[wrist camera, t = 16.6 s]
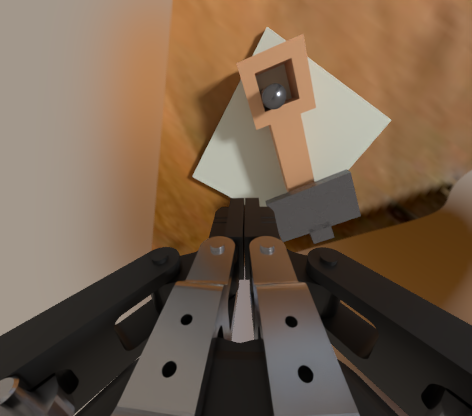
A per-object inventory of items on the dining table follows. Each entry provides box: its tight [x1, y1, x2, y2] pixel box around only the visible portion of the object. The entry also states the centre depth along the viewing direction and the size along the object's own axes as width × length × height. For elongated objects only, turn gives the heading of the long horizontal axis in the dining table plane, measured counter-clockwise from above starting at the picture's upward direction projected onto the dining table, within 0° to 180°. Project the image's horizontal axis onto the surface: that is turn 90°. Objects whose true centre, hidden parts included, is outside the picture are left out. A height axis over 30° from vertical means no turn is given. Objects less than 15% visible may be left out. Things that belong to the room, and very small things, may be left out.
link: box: [236, 34, 316, 192], centre depth 23 cm, size 15×6×4 cm, turn 20°
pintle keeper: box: [260, 83, 361, 244], centre depth 25 cm, size 13×16×7 cm
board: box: [192, 27, 391, 207], centre depth 27 cm, size 18×17×1 cm
